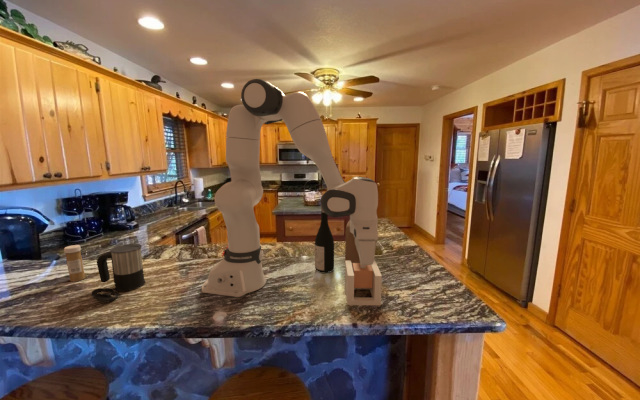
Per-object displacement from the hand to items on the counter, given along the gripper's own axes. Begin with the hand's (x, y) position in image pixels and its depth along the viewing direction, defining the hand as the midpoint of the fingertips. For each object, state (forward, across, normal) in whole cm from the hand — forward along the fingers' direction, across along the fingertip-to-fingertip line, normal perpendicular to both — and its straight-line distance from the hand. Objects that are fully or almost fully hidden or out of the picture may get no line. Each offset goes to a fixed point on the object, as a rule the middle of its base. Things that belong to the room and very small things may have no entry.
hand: (362, 266), depth 87 cm
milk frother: (+10, -1, -85) cm, 86 cm away
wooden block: (+11, -20, +1) cm, 23 cm away
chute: (+10, 0, 0) cm, 10 cm away
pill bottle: (+10, -9, -109) cm, 110 cm away
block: (+6, 0, 0) cm, 6 cm away
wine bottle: (+10, -20, -13) cm, 26 cm away
